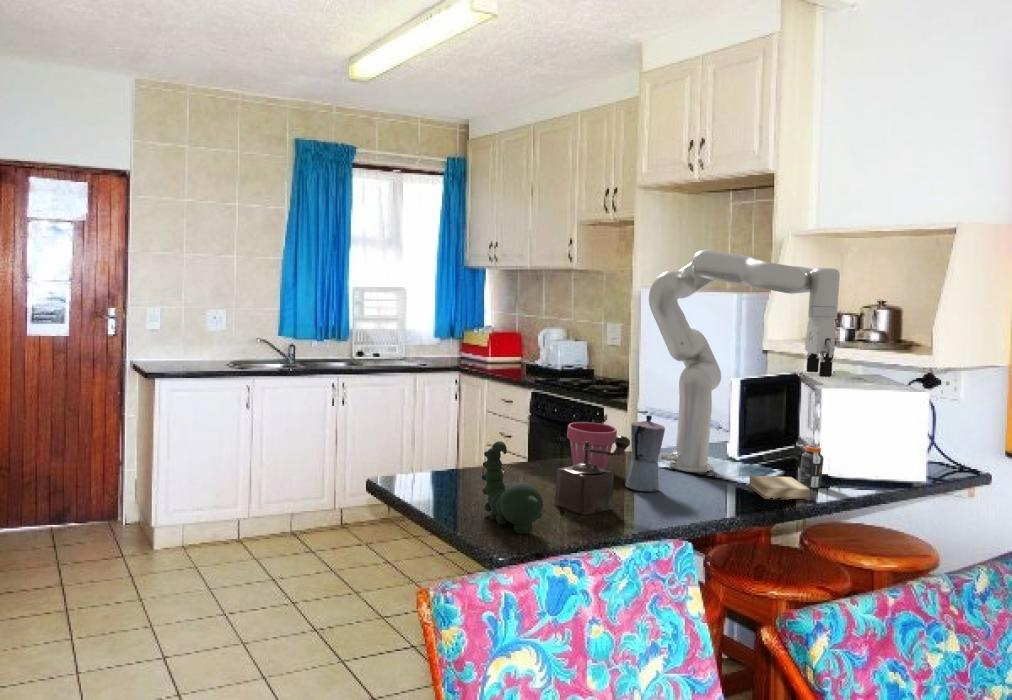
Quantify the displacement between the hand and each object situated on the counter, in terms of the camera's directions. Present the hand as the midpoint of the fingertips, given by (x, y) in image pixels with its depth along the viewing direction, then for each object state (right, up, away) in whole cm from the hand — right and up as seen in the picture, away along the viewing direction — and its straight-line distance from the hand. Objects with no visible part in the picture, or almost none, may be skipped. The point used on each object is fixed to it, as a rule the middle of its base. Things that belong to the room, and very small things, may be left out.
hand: (818, 374), depth 244 cm
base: (-12, -32, -4) cm, 35 cm away
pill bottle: (0, -32, +6) cm, 33 cm away
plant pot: (-63, -28, +10) cm, 70 cm away
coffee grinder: (-66, -32, -26) cm, 78 cm away
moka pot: (-50, -31, -7) cm, 60 cm away
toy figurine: (-86, -33, -44) cm, 102 cm away
